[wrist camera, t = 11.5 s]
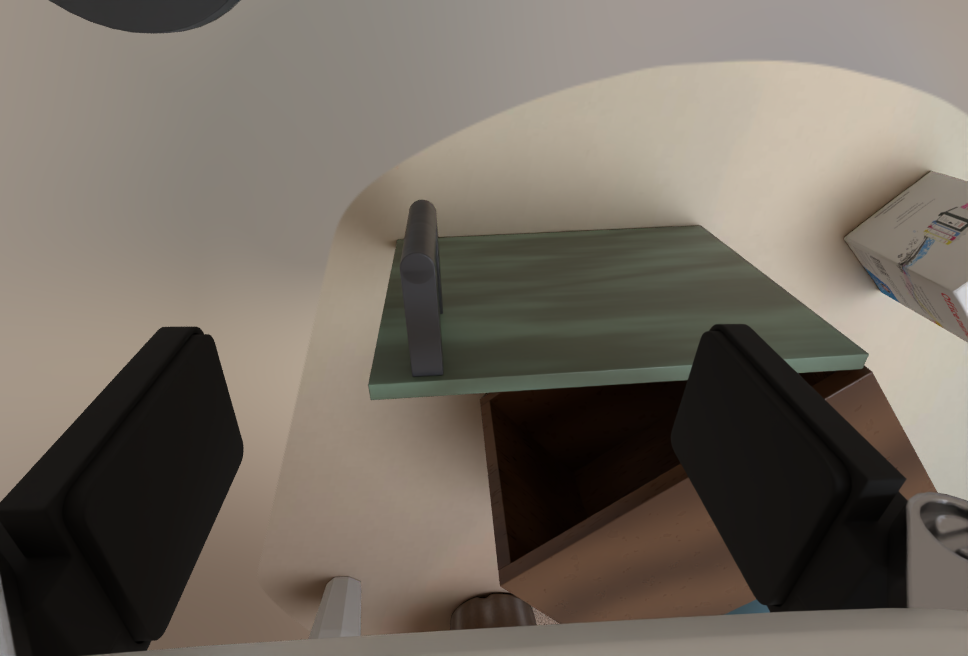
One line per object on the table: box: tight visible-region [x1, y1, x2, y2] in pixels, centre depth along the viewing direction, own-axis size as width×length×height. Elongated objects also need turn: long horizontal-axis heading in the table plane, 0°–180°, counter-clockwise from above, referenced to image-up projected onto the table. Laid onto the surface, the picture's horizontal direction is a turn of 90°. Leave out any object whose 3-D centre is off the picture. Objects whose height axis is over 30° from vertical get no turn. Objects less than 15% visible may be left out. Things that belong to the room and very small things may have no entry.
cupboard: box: [480, 366, 938, 624], centre depth 43 cm, size 16×26×20 cm, turn 131°
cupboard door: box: [368, 200, 869, 400], centre depth 33 cm, size 8×26×20 cm, turn 91°
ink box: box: [844, 171, 968, 342], centre depth 41 cm, size 9×8×12 cm
